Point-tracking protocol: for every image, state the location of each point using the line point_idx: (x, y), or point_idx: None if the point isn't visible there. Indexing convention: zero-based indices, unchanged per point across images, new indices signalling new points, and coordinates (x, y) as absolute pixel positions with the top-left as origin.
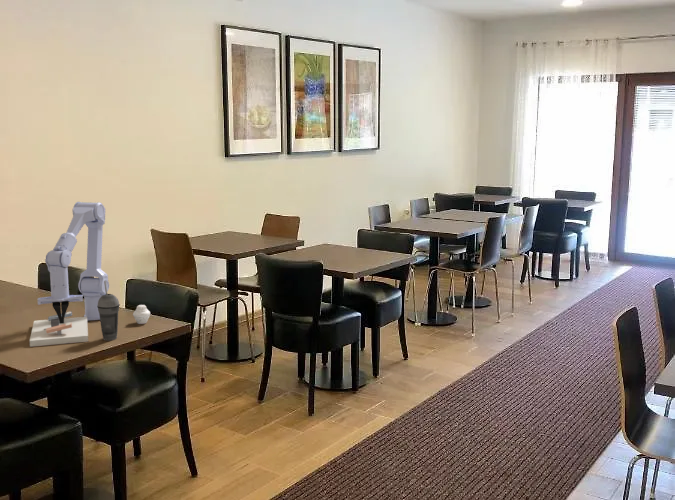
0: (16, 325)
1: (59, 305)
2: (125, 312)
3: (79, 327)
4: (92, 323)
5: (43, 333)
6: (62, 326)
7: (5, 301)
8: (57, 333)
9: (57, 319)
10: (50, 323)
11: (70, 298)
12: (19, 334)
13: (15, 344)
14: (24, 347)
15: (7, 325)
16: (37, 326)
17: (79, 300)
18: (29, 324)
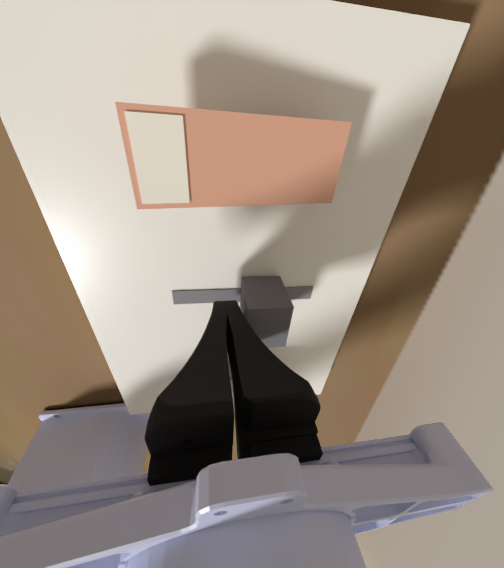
0: (356, 387)
1: (251, 407)
2: (16, 456)
3: (123, 277)
4: (107, 377)
5: (330, 211)
6: (215, 121)
7: None
8: None
9: (252, 325)
10: None
11: (89, 538)
12: (382, 306)
13: (463, 149)
14: None
15: (376, 390)
16: (326, 336)
17: (16, 503)
18: (322, 391)
